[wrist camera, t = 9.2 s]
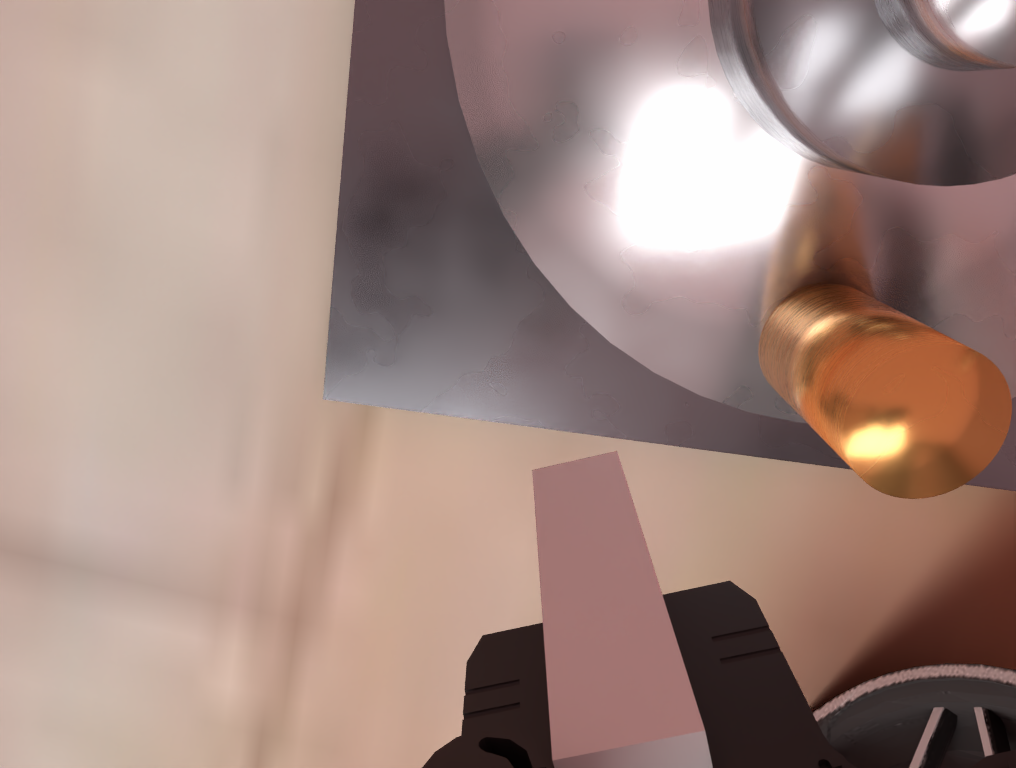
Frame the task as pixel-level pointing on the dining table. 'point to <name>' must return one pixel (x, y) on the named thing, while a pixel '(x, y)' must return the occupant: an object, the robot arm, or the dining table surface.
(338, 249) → the turntable base
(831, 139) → the cover
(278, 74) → the dining table surface
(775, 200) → the turntable
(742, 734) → the robot arm
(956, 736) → the wheel rim
